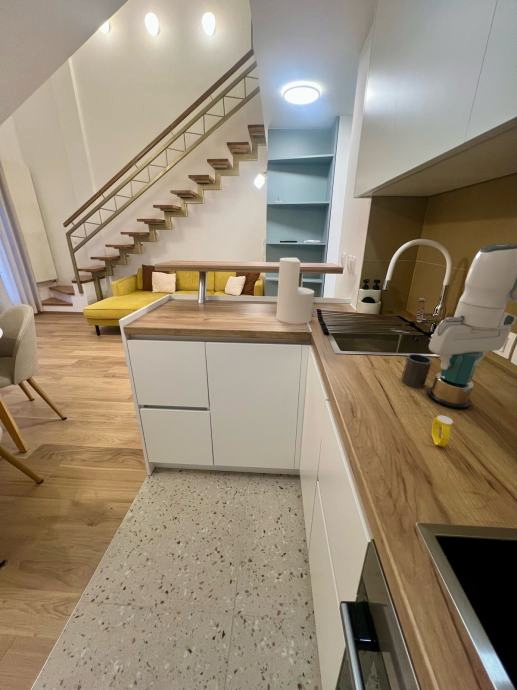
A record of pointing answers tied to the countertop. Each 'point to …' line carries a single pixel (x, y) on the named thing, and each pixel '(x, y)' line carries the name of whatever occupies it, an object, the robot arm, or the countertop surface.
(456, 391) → the towel holder
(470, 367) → the teal cup
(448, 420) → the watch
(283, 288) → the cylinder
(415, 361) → the charcoal cup
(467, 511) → the countertop surface
